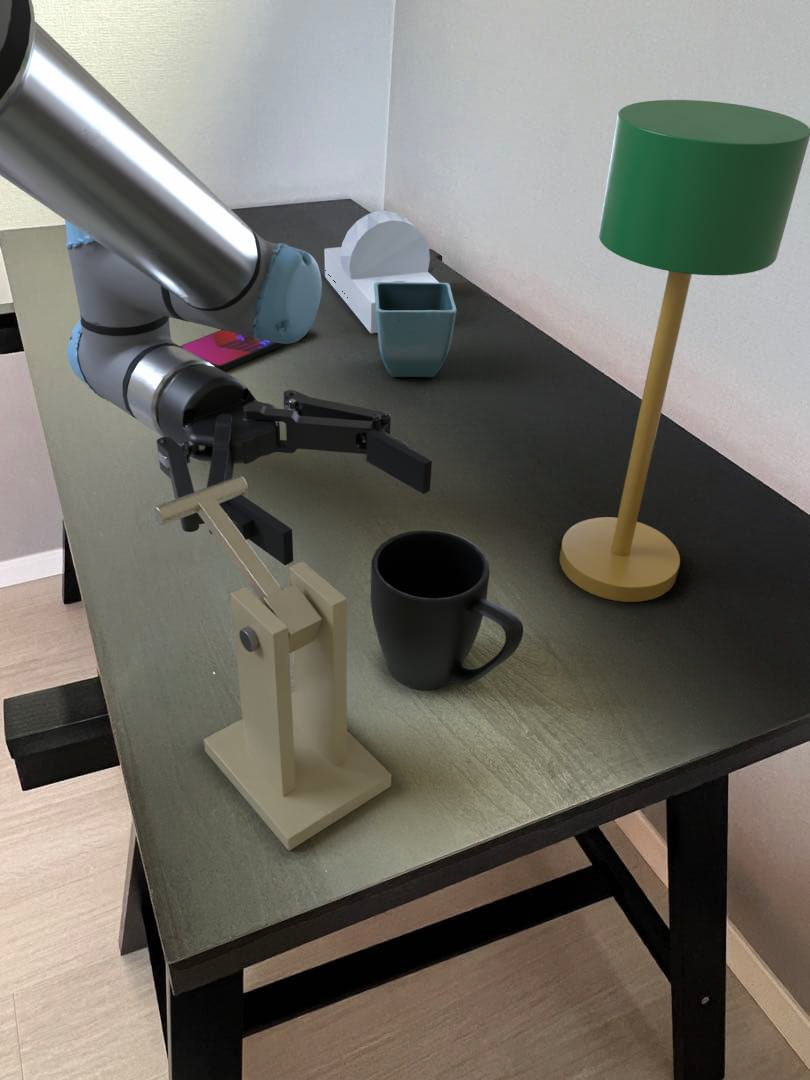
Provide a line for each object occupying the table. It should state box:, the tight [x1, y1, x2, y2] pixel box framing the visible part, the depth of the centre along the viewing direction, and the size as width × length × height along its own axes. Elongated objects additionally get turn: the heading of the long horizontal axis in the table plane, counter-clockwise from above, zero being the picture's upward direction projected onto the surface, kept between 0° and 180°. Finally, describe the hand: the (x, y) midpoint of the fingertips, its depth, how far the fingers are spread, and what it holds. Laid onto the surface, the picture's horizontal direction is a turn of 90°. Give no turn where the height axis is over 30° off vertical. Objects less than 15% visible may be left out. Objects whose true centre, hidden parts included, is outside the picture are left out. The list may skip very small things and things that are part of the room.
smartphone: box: [179, 329, 310, 371], centre depth 114 cm, size 8×1×15 cm
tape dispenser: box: [324, 210, 440, 334], centre depth 124 cm, size 20×11×11 cm, turn 21°
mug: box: [370, 529, 524, 691], centre depth 67 cm, size 8×12×10 cm
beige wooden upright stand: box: [203, 561, 392, 852], centre depth 58 cm, size 10×8×15 cm
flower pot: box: [374, 282, 457, 378], centre depth 108 cm, size 9×9×9 cm
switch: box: [153, 475, 322, 655], centre depth 57 cm, size 12×6×2 cm, turn 40°
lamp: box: [559, 99, 810, 603], centre depth 71 cm, size 12×12×36 cm
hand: (362, 510), depth 68 cm, fingers open, 13 cm apart
